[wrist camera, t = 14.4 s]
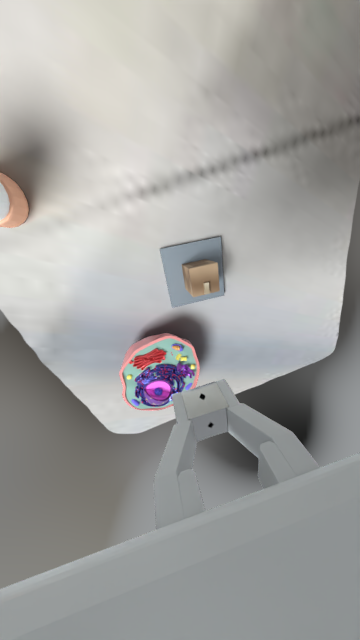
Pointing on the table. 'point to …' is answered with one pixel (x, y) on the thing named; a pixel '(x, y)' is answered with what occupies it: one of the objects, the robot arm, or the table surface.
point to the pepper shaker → (12, 203)
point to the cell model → (158, 371)
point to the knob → (201, 277)
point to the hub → (187, 254)
